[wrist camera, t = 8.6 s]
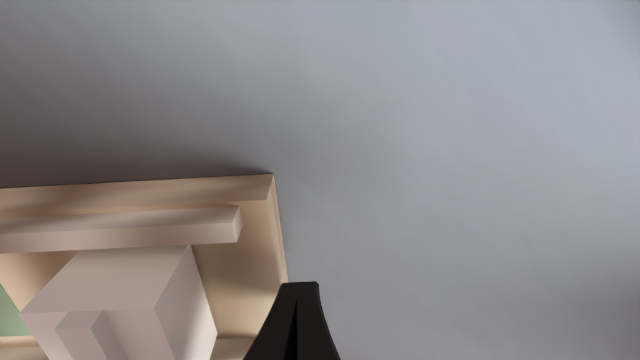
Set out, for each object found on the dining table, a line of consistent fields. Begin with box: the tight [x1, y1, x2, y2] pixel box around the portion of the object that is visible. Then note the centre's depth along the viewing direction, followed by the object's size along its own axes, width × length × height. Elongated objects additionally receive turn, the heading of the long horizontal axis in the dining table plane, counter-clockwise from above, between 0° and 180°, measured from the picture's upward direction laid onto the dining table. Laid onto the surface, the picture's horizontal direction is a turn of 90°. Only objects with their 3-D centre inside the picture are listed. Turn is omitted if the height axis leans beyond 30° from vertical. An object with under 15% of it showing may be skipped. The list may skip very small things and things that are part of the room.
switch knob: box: [19, 245, 217, 360], centre depth 12 cm, size 4×5×4 cm
